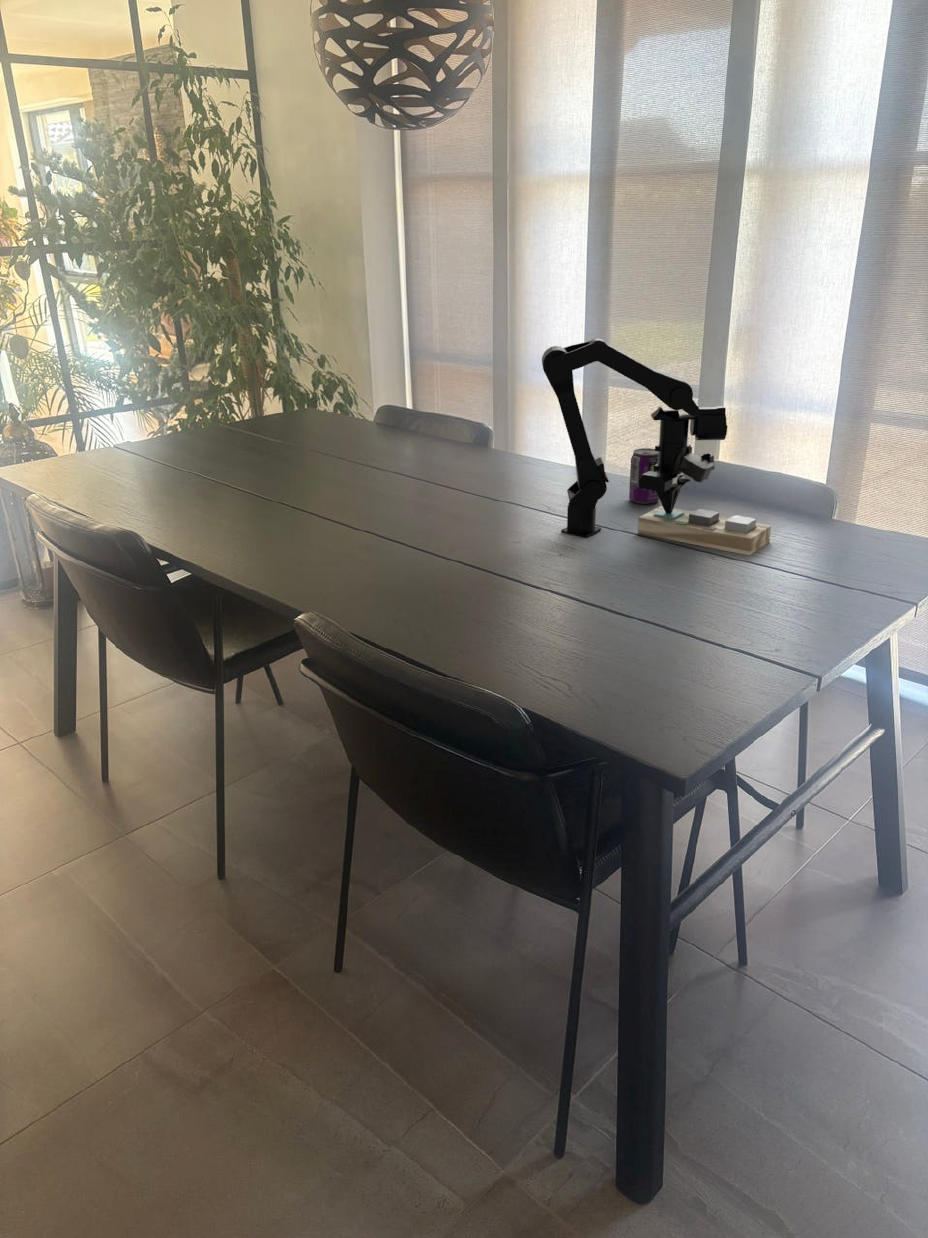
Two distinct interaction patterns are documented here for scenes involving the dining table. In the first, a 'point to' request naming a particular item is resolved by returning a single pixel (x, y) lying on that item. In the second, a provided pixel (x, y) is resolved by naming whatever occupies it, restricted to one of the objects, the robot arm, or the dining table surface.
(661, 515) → the key teal
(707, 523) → the gray square block
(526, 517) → the dining table surface
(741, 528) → the key grey
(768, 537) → the wooden key base
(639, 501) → the beverage can
